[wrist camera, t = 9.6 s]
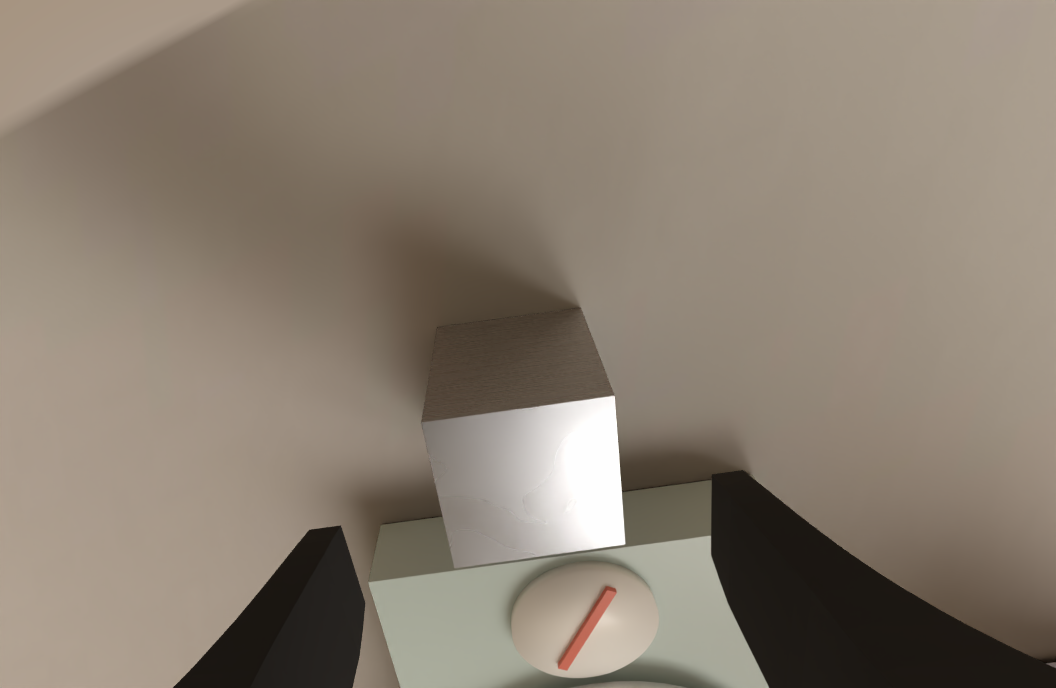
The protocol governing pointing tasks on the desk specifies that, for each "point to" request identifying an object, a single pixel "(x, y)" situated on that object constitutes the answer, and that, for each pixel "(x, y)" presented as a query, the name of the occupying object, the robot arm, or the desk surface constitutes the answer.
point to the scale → (566, 607)
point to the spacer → (523, 439)
